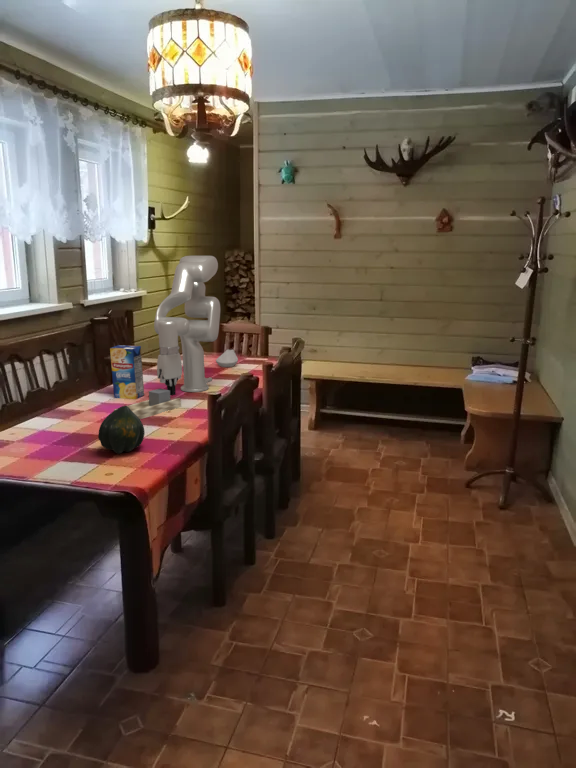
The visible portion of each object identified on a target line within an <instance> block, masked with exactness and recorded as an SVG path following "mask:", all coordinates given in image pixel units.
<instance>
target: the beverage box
mask: <svg viewBox="0 0 576 768" xmlns="http://www.w3.org/2000/svg"><path fill="white" fill-rule="evenodd" d="M109 351H110V352H109V353H110V364H111V376H112V387H113V398H114V399H122V400H123V399H124V400H126V399H127V400H138V399H141V398H142V397H144V396H145V389H144V386H145V385H144V375H143V361H142V360H143V358H142V357H143V356H142V346H141V345H124V344H123V345H120V344H118V345H115V346H112V347H109ZM143 395H144V396H143Z"/></svg>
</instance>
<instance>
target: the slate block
mask: <svg viewBox="0 0 576 768" xmlns="http://www.w3.org/2000/svg"><path fill="white" fill-rule="evenodd" d="M148 400H149V405H150V406H153V405H157V404H160V403H164V402H167V401H170V400H172V399H171V395H170V390H167V389H164V388H157V389H152V390H149V391H148Z"/></svg>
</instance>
